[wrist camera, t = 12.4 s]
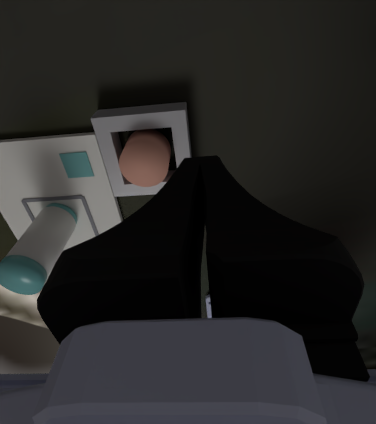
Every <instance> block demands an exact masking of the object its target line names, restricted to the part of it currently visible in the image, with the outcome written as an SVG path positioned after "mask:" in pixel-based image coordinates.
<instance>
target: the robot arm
mask: <svg viewBox="0 0 376 424" xmlns="http://www.w3.org/2000/svg"><path fill="white" fill-rule="evenodd" d="M205 226H206V232H207V239H206V257H207V268H208V280H209V291H210V295H207V296H206V306H207V316H208V318H201V262H202V250H203V239H204V227H205ZM363 288H364V282H363V278H362V274H361V273H360V271H359V269H358V267H357V265H356V264H355V262H354V260H353V259H352V257H351V255H350V254H349V252H348V251H347V250H346V248H345V247H344V246H343V244H342V243H341V242H340V240H339V239H338V237H336V236H333V235H330V234H327V233H324V232H322V231H319V230H316V229H313V228H310V227H307V226H305V225H302V224H300V223H298V222H296V221H293V220H291V219H289V218H287V217H285V216H283V215H281V214H279V213H277V212H276V211H274V210H272V209H271V208H269V207H267V206H266V205H264V204H263V203H261V202H260V201H258V200H257V199H256V198H254V197H253V196H252V195H250V194H249V193H248V192H247V191H246V190H245V189H244V188H243V187H242V186H241V185H240V184H239V183H238V182H237V181H236V180H235V179H234V177H233V176H232V175H231V174H230V173H229V172H228V170H227V169H226V168H225V166H224V165H223V163H222V161H221V160H220V158H219V157H218V156H204V157H191V158H184V159H183V160H182V162H181V163H180V165H179V166H178V168H177V169H176V170H175V172H174V173H173V175H172V176H171V177H170V178H169V180H168V181H167V182H166V184H165V185H164V186H163V187H162V188H161V189H160V190H159V191H158V193H157V194H156V195H155V196H154V197H153V198H152V199H151V200H150V201H149V202H147V203H146V204H145V205H144V206H143V207H141V208H140V209H139V210H138V211H136V212H135V213H133V214H132V215H131V216H129V217H128V218H126V219H125V220H123V221H122V222H120V223H119V224H117V225H115V226H114V227H112V228H110V229H109V230H107V231H105V232H103V233H101V234H99V235H97V236H95V237H93V238H91V239H89V240H87V241H84V242H82V243H80V244H78V245H75V246H73V247H71V248H68V249H66V250H63V251H62V253H61V255H60V256H59V258H58V260H57V261H56V263H55V265H54V267H53V269H52V271H51V273H50V275H49V277H48V279H47V281H46V283H45V285H44V287H43V289H42V291H41V293H40V295H39V297H38V299H37V309H38V311H39V313H40V315H41V318H42V319H43V321H44V322H45V324H46V325H47V327H48V328H49V329H50V331H51V332H52V334H53V335H54V337H55V338H56V339H57V341H58V342H59V344H60V347H59V349H58V352H57V354H56V357H55V360H54V363H53V365H52V367H51V370H50V372H49V374H0V424H376V369H367V368H366V366H365V364H364V362H363V359H362V357H361V355H360V352H359V350H358V348H357V345H356V343H355V341H357V339H358V334H357V332H356V329H355V327H354V325H353V323H352V318H353V316H354V313H355V311H356V308H357V306H358V304H359V301H360V299H361V296H362V293H363Z"/></svg>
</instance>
